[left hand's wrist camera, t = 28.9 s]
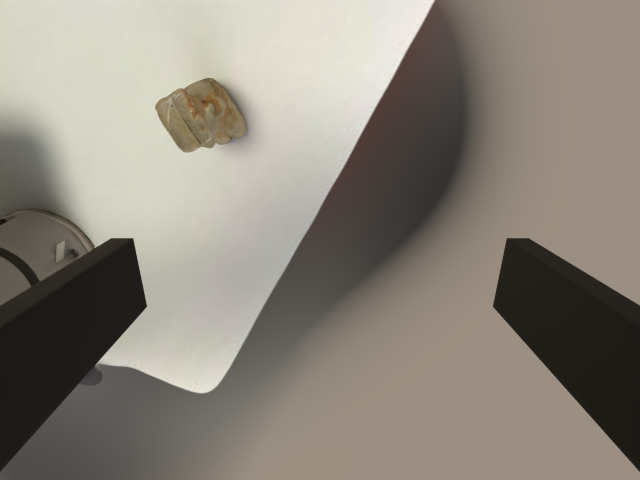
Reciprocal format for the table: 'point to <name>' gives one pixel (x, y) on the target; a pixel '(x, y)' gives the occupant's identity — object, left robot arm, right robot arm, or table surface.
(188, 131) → the sculpture
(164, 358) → the table surface
